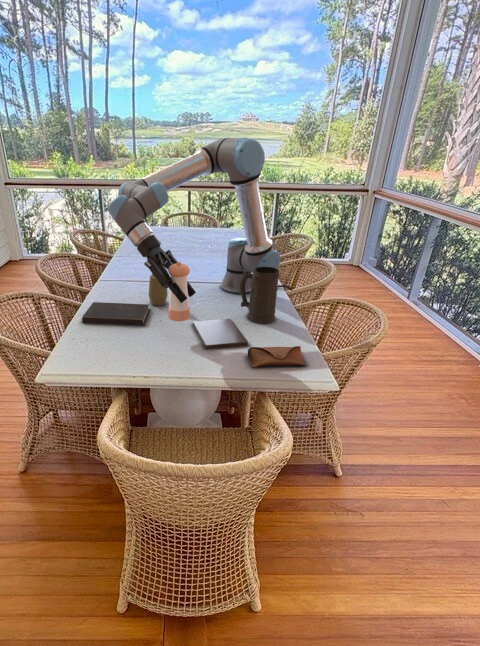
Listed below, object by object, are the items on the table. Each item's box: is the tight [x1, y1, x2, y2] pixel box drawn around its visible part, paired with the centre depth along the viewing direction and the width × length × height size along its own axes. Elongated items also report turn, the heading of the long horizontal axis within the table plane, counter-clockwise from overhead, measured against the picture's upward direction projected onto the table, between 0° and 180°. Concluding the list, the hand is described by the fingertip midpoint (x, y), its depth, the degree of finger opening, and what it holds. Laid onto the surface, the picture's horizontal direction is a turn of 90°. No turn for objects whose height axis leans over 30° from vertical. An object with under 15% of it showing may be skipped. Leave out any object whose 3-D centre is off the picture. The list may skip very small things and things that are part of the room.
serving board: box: [192, 318, 249, 350], centre depth 143 cm, size 15×20×2 cm
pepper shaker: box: [167, 261, 191, 322], centre depth 131 cm, size 7×7×19 cm
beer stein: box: [240, 267, 281, 324], centre depth 153 cm, size 15×11×20 cm
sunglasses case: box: [247, 345, 307, 368], centre depth 127 cm, size 18×7×7 cm, turn 97°
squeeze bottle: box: [148, 272, 168, 306], centre depth 163 cm, size 8×8×18 cm
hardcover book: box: [81, 301, 150, 326], centre depth 155 cm, size 16×23×2 cm
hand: (188, 297), depth 131 cm, fingers closed on pepper shaker, 5 cm apart
